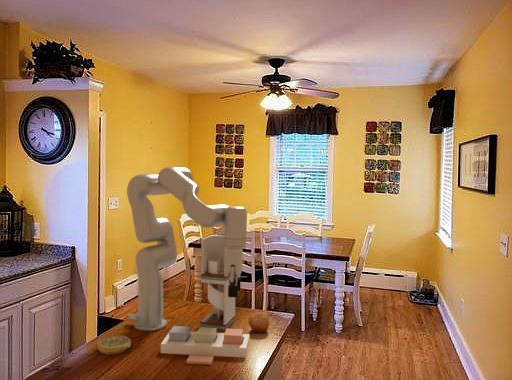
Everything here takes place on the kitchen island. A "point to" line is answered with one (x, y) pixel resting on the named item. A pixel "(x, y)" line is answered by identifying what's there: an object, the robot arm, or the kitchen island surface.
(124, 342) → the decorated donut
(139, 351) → the kitchen island surface
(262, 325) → the fruit
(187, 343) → the keypad board
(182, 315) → the kitchen island surface
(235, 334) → the key terracotta
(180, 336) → the key slate blue
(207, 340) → the key sage
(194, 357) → the tile
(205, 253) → the tiered shelf stand
